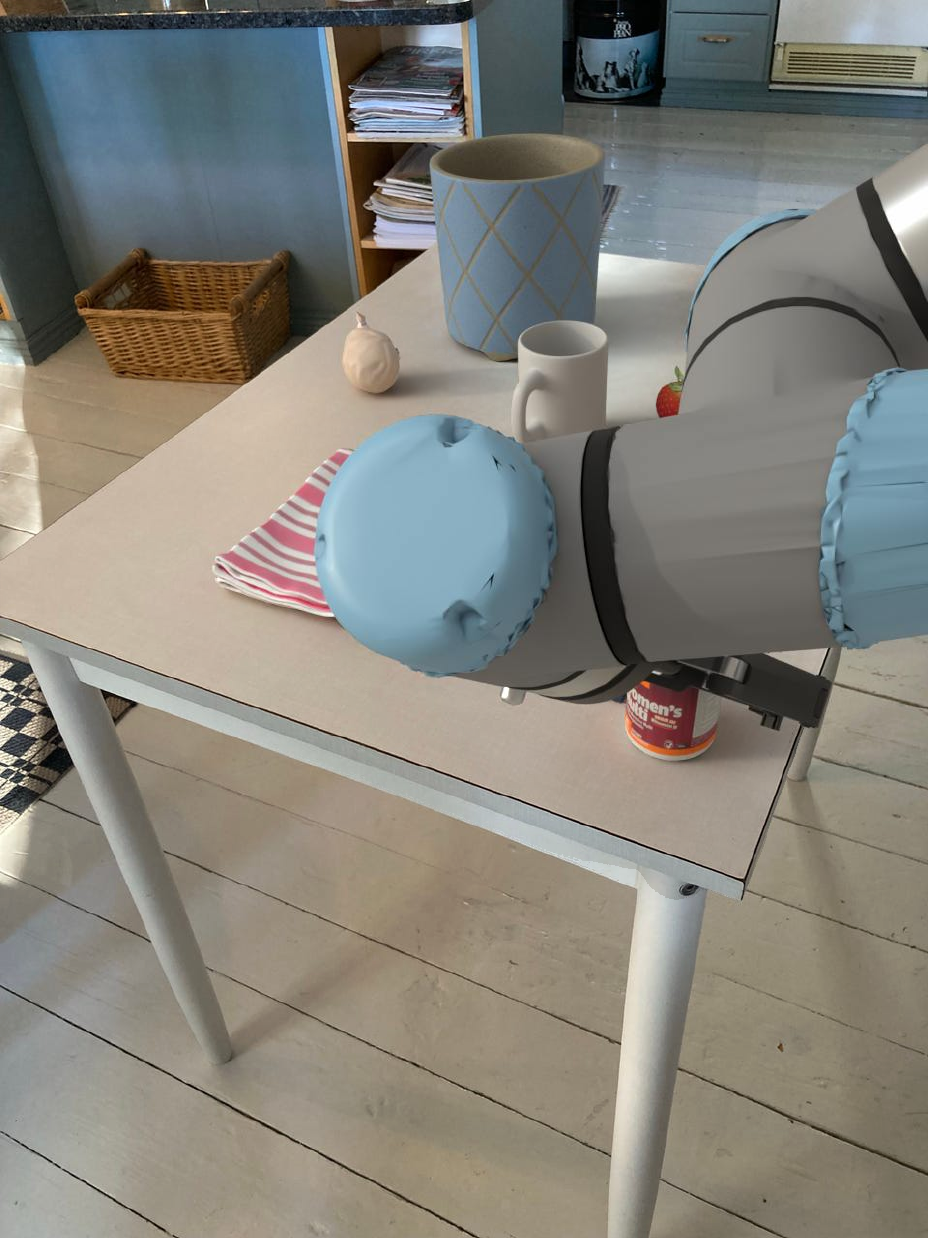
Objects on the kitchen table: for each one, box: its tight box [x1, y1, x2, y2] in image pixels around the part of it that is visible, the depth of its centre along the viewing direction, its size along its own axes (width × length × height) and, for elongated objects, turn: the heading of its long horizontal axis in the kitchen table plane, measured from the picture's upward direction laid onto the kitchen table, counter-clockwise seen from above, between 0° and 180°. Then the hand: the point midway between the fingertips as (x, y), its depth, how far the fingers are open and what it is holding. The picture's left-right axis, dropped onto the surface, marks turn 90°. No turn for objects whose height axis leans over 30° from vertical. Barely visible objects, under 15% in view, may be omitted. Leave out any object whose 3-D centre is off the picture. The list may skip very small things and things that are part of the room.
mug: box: [510, 321, 610, 444], centre depth 95 cm, size 12×8×11 cm
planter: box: [429, 133, 606, 362], centre depth 114 cm, size 19×19×20 cm
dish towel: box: [211, 447, 356, 618], centre depth 87 cm, size 17×23×4 cm
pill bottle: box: [624, 671, 723, 762], centre depth 64 cm, size 6×6×11 cm
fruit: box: [655, 365, 685, 418], centre depth 95 cm, size 5×5×8 cm
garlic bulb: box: [341, 310, 401, 394], centre depth 108 cm, size 7×6×8 cm
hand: (665, 662), depth 61 cm, fingers open, 13 cm apart
